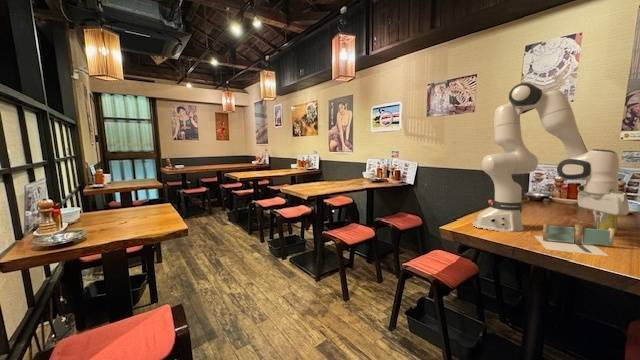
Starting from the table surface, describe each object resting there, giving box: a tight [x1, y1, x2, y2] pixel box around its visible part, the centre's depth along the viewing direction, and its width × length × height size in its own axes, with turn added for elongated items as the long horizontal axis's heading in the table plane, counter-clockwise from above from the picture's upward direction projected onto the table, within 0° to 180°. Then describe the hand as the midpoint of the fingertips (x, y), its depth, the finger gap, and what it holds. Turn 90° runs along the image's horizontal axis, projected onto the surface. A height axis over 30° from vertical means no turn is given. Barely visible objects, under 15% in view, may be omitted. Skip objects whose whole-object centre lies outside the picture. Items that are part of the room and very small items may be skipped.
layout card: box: [533, 235, 609, 257], centre depth 108 cm, size 18×19×1 cm
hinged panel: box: [582, 227, 615, 247], centre depth 105 cm, size 9×2×7 cm, turn 62°
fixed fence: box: [542, 222, 584, 245], centre depth 110 cm, size 13×2×8 cm, turn 62°
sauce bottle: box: [597, 214, 619, 237], centre depth 118 cm, size 7×6×20 cm
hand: (600, 221), depth 107 cm, fingers closed
